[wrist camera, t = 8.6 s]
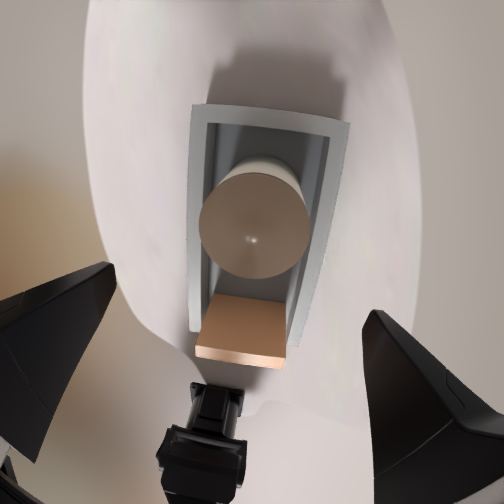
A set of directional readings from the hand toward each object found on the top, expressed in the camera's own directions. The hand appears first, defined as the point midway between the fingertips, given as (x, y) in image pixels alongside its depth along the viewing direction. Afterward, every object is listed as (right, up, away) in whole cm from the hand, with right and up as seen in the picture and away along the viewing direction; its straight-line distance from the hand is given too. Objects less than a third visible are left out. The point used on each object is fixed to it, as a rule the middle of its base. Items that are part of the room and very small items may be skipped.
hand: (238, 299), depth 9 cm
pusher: (0, -3, +14) cm, 14 cm away
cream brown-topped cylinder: (+1, +6, +10) cm, 11 cm away
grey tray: (+1, +3, +12) cm, 12 cm away
